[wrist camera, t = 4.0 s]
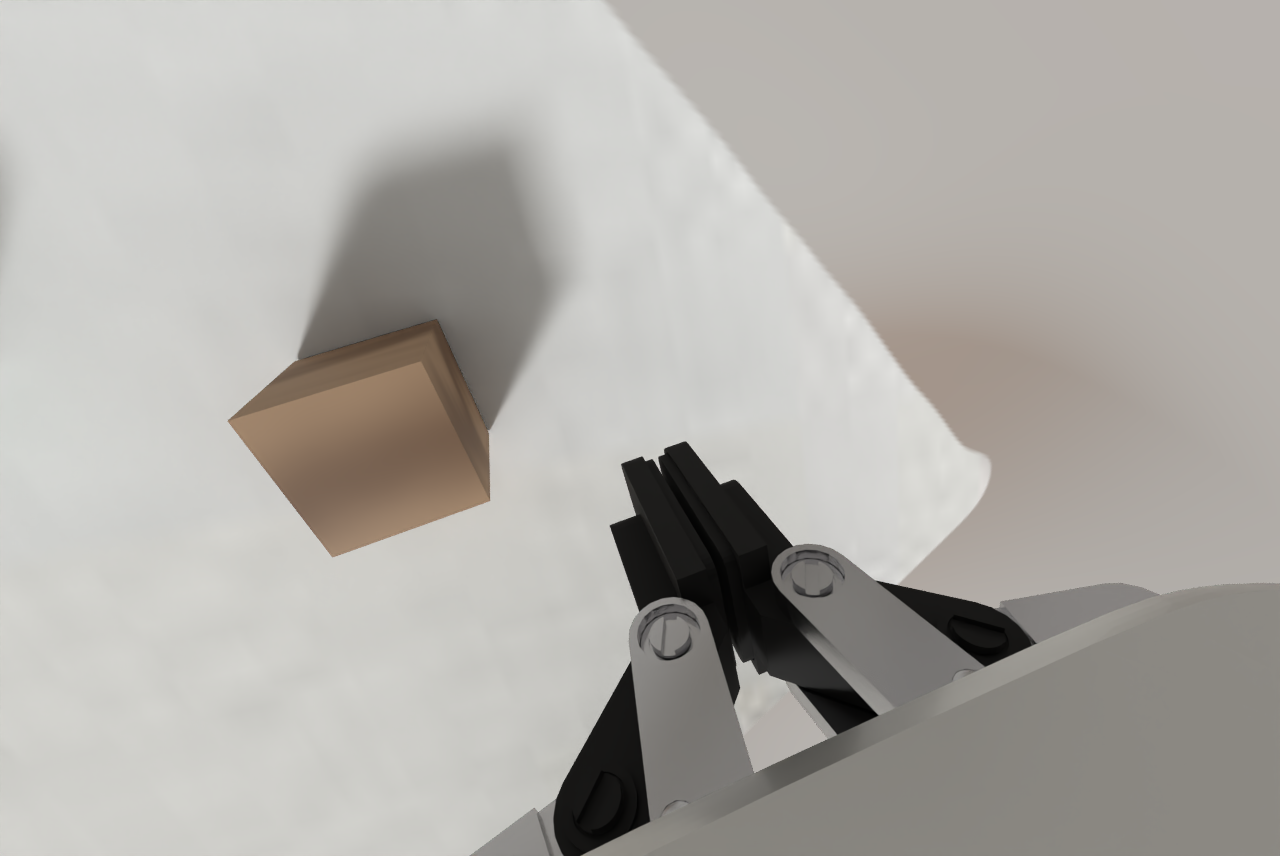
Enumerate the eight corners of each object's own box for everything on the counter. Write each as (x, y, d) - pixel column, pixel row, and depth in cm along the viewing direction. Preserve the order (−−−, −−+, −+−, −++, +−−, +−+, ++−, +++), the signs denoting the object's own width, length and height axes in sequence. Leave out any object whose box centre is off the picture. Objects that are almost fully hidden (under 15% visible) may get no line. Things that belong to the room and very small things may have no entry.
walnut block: (295, 360, 20) (227, 420, 15) (437, 318, 21) (421, 361, 15) (367, 473, 23) (332, 557, 18) (488, 432, 24) (490, 501, 18)
